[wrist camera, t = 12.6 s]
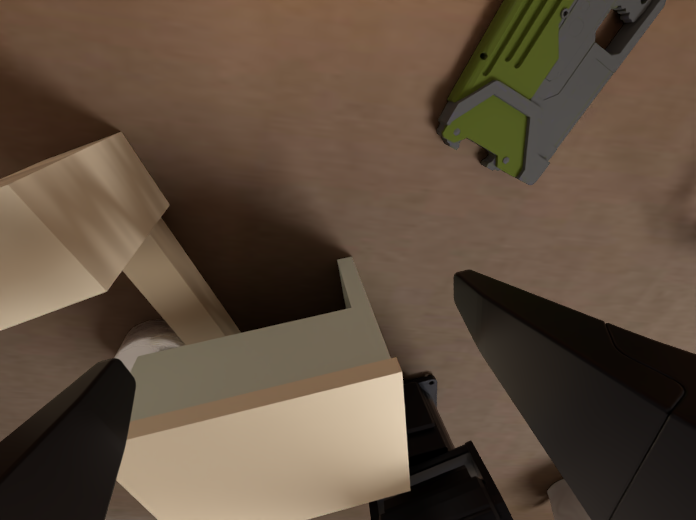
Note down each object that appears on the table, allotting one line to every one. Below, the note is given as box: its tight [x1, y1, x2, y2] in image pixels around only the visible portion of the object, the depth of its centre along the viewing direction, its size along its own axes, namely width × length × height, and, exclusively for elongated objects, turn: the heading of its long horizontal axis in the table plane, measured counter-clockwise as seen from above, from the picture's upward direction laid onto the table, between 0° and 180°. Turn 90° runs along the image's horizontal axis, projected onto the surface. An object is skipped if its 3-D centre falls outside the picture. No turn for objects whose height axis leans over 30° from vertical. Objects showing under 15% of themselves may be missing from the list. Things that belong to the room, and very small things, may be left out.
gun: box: [437, 0, 666, 185], centre depth 17 cm, size 2×19×15 cm
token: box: [114, 320, 185, 372], centre depth 22 cm, size 5×5×2 cm
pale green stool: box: [116, 257, 411, 520], centre depth 20 cm, size 10×12×10 cm
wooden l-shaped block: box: [0, 132, 241, 345], centre depth 17 cm, size 16×4×8 cm, turn 17°
